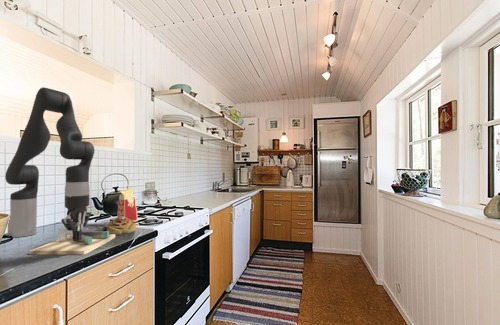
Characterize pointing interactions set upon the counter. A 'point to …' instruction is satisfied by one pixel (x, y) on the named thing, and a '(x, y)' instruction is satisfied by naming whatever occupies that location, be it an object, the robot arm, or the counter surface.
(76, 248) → the board
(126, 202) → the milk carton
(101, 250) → the counter surface
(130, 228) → the pastry
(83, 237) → the tong arm
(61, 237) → the grey l-shaped block
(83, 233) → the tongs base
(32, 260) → the counter surface
